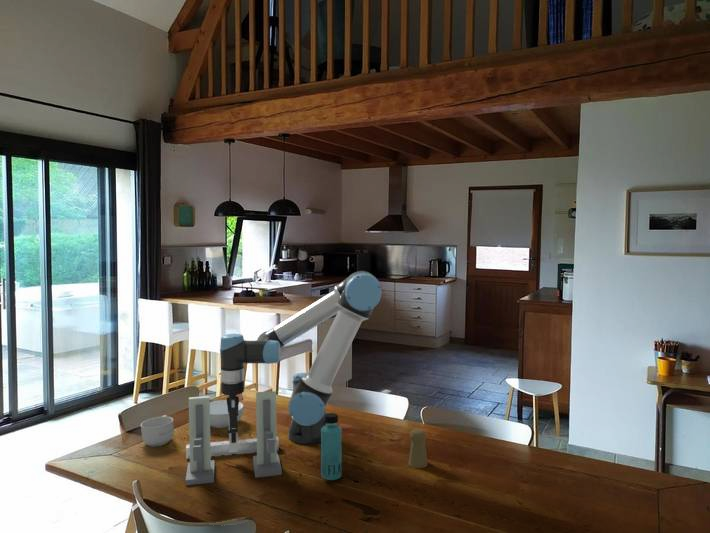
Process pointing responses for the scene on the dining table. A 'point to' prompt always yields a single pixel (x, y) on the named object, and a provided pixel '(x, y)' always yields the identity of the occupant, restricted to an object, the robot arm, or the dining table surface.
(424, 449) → the green shaker
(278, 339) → the robot arm
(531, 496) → the dining table surface
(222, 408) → the cereal bowl
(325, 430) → the beverage bottle
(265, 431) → the rail standards
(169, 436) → the teacup
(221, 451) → the hang rail
